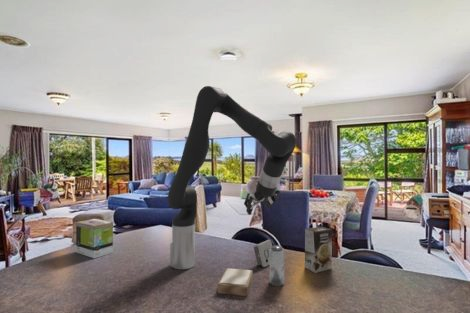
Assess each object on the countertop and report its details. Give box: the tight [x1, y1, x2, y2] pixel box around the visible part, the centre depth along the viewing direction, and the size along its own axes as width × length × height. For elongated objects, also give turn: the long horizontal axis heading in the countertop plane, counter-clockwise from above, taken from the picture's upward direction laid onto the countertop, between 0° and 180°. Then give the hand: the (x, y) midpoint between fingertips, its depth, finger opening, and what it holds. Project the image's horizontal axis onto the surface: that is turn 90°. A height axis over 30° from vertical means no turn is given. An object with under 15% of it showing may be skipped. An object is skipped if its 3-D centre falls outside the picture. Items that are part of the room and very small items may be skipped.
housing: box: [269, 244, 285, 287], centre depth 99 cm, size 5×5×13 cm
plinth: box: [217, 267, 254, 297], centre depth 97 cm, size 10×13×3 cm
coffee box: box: [304, 226, 333, 274], centre depth 112 cm, size 9×6×16 cm
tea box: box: [75, 218, 114, 259], centre depth 130 cm, size 15×10×15 cm, turn 58°
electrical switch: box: [253, 239, 273, 268], centre depth 117 cm, size 9×5×9 cm, turn 141°
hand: (257, 210), depth 110 cm, fingers open, 8 cm apart
